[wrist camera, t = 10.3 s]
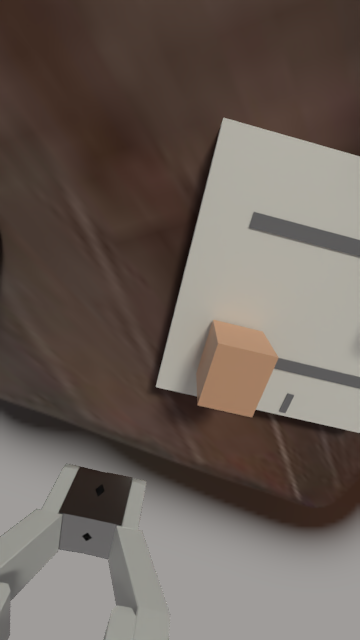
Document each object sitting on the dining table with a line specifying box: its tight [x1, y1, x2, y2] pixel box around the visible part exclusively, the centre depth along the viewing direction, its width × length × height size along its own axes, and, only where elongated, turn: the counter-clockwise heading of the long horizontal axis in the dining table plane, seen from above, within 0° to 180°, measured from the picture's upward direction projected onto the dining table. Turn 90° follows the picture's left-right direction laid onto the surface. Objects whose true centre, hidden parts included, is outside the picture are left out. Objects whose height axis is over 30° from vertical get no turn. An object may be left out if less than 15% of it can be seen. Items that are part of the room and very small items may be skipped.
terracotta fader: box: [196, 320, 279, 417], centre depth 19 cm, size 4×5×4 cm
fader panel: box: [156, 118, 360, 433], centre depth 21 cm, size 20×20×2 cm
